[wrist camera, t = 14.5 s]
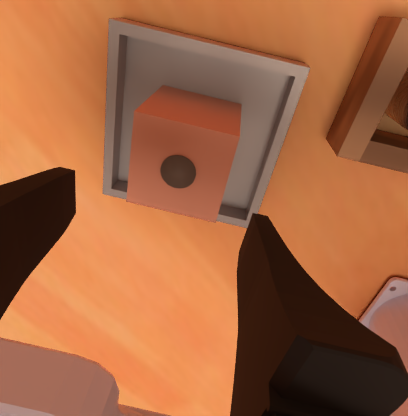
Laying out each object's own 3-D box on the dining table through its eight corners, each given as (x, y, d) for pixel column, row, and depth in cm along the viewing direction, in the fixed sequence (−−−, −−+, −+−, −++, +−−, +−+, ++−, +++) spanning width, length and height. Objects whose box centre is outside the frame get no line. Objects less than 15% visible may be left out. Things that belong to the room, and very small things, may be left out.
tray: (251, 214, 25) (252, 229, 23) (112, 181, 24) (102, 194, 23) (304, 62, 19) (310, 68, 17) (121, 17, 18) (108, 18, 17)
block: (222, 174, 22) (215, 223, 17) (153, 157, 22) (125, 202, 17) (241, 104, 20) (239, 137, 15) (163, 85, 20) (133, 111, 14)
